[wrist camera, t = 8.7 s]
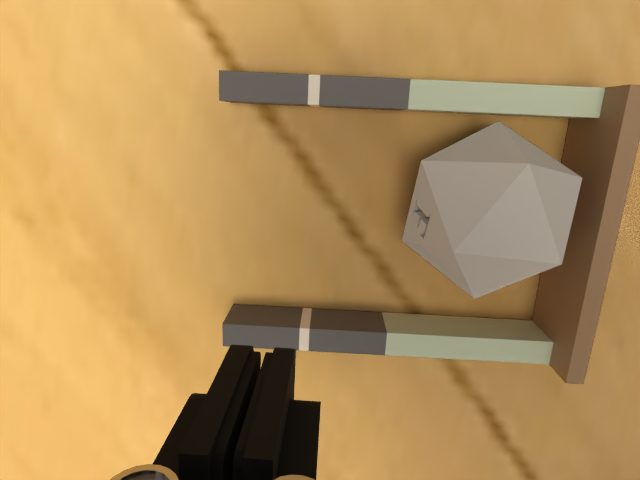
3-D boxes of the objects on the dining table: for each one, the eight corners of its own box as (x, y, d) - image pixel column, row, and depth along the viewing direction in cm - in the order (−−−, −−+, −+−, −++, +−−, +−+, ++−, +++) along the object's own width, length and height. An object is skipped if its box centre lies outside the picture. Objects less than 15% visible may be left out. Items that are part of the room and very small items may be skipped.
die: (463, 95, 26) (387, 141, 20) (621, 138, 23) (593, 212, 16) (431, 210, 31) (361, 278, 25) (557, 261, 28) (515, 357, 21)
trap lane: (592, 92, 26) (652, 85, 21) (543, 341, 30) (583, 384, 25) (231, 76, 26) (208, 65, 21) (233, 324, 30) (214, 363, 25)
